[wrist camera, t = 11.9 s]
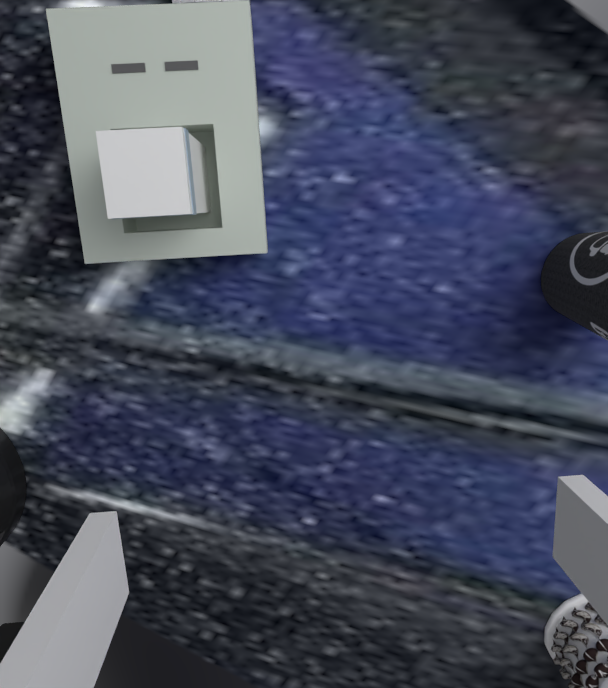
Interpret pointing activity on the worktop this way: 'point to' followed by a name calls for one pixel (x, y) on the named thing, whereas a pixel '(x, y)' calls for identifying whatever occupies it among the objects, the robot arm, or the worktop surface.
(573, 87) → the worktop surface
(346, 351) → the worktop surface
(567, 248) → the coffee cup
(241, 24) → the outlet plate
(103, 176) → the block
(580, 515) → the robot arm
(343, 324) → the worktop surface
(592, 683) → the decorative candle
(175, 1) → the phone
